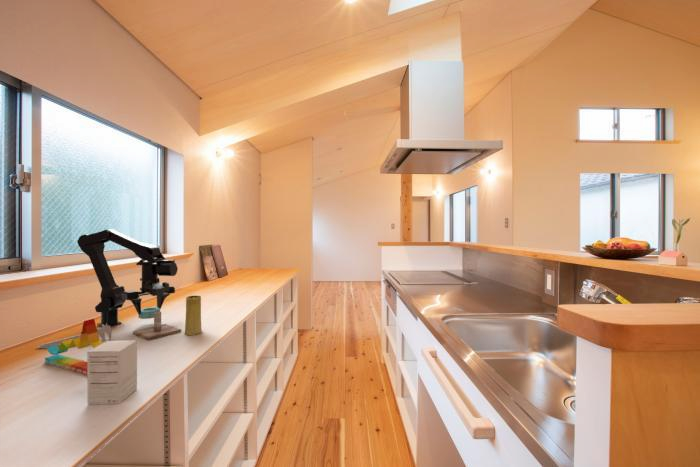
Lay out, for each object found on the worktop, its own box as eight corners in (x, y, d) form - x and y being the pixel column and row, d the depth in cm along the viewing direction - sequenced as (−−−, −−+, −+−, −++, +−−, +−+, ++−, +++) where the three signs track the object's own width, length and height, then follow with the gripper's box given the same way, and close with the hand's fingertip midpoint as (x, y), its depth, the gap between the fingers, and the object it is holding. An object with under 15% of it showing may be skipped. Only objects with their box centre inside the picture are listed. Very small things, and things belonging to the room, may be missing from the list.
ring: (135, 316, 133) (135, 309, 133) (154, 313, 139) (154, 306, 139) (144, 319, 129) (144, 312, 129) (162, 315, 135) (162, 308, 135)
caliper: (111, 339, 117) (111, 322, 117) (111, 340, 116) (111, 323, 116) (36, 349, 107) (36, 330, 107) (35, 350, 106) (35, 331, 106)
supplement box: (107, 389, 81) (107, 340, 81) (137, 388, 82) (138, 339, 81) (85, 405, 74) (86, 351, 73) (119, 404, 74) (120, 350, 74)
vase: (205, 331, 127) (205, 295, 127) (193, 336, 121) (193, 298, 121) (193, 329, 129) (193, 294, 129) (180, 334, 123) (181, 297, 123)
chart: (44, 364, 96) (44, 314, 95) (56, 360, 99) (57, 312, 98) (111, 383, 85) (111, 327, 85) (123, 378, 88) (124, 323, 88)
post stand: (133, 334, 123) (133, 313, 122) (165, 326, 133) (165, 307, 133) (148, 340, 116) (148, 318, 116) (181, 331, 126) (181, 311, 126)
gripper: (134, 280, 121) (133, 321, 122) (182, 275, 137) (181, 311, 137) (120, 277, 127) (120, 316, 128) (168, 272, 143) (168, 307, 143)
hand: (149, 312), depth 134 cm, fingers closed on ring, 7 cm apart
